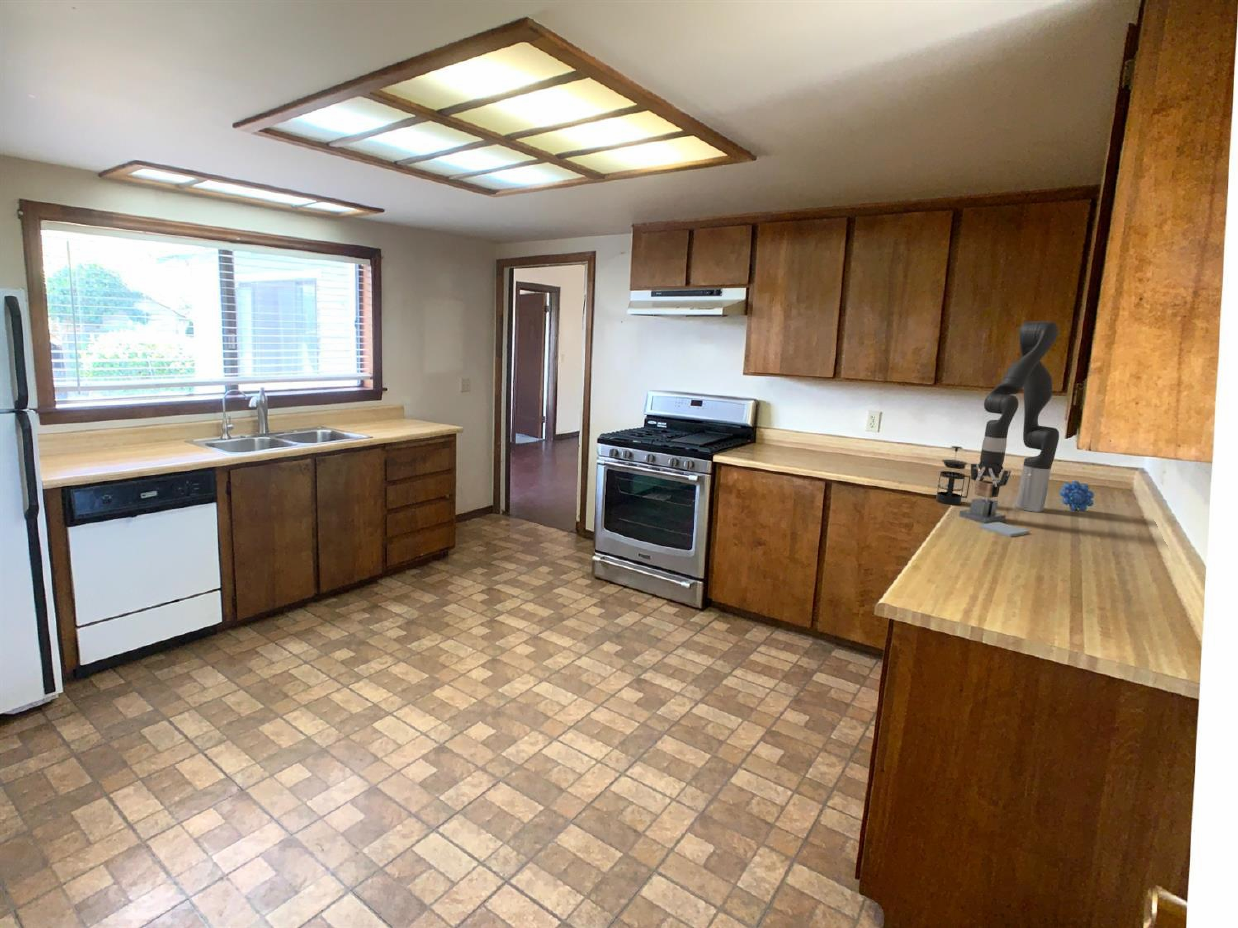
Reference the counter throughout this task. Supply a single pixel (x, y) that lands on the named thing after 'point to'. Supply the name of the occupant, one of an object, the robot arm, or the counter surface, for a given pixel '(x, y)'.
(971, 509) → the grey block-shaped fixture
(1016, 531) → the mat
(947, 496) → the french press
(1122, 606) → the counter surface
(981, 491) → the collar
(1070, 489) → the grapes
